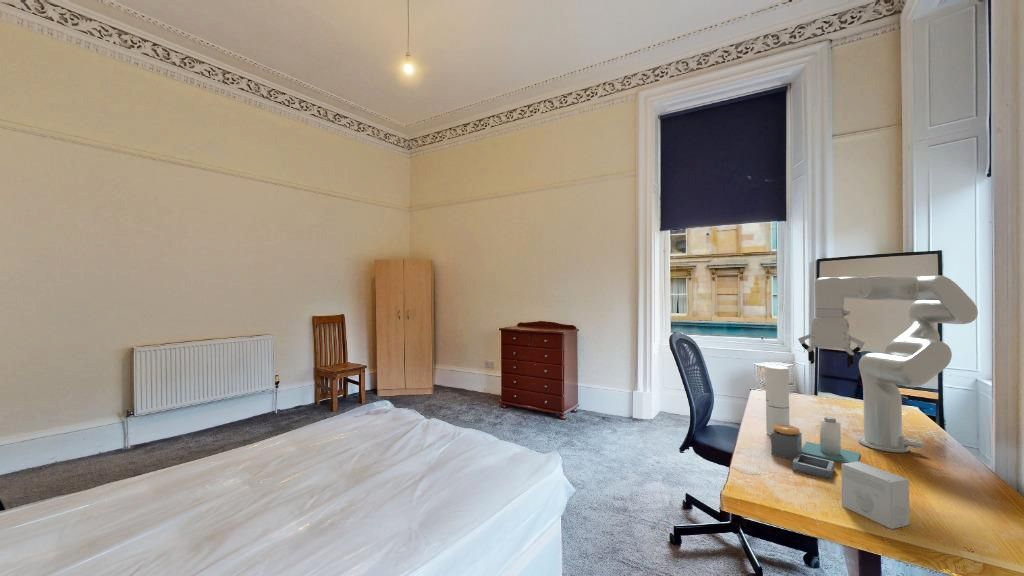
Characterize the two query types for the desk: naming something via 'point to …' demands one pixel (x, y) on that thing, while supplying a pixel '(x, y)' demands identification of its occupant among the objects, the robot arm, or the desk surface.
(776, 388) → the cylindrical container
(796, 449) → the plunger housing
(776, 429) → the plunger
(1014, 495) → the desk surface
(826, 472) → the frame
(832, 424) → the cylinder
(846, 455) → the pad
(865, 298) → the robot arm
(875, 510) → the skincare box
